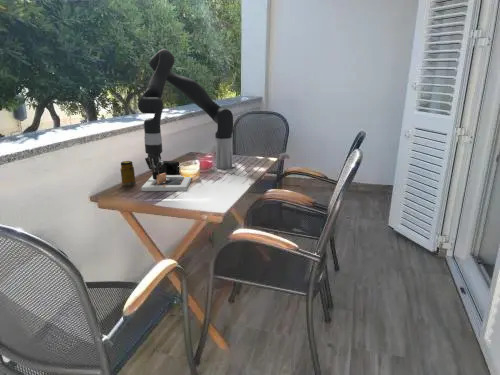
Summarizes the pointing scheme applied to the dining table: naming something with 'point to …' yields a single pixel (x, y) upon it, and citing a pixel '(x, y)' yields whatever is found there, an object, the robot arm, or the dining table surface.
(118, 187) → the dining table surface
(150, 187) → the panel
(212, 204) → the dining table surface
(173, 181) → the dial
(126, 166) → the condiment
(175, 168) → the digital camera
